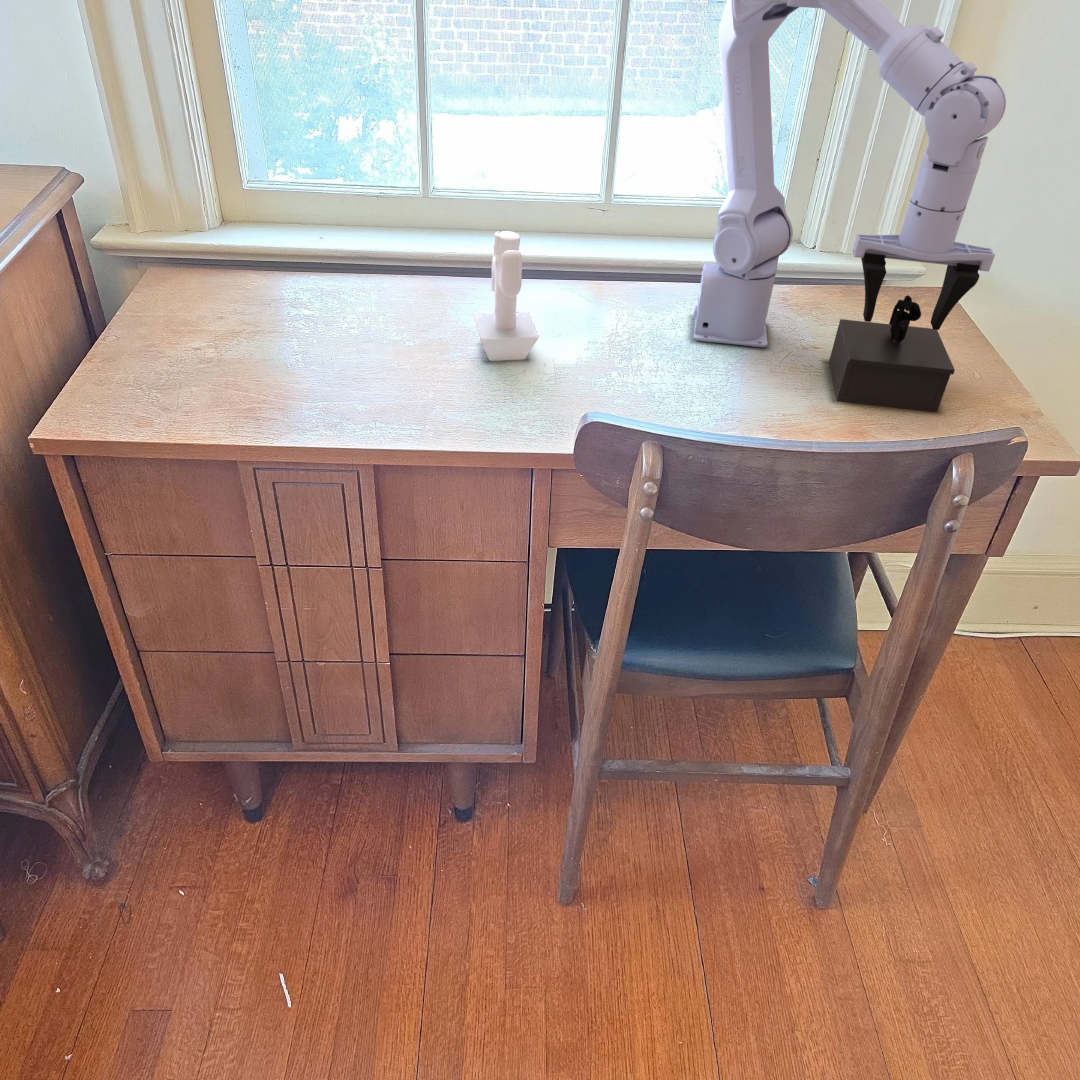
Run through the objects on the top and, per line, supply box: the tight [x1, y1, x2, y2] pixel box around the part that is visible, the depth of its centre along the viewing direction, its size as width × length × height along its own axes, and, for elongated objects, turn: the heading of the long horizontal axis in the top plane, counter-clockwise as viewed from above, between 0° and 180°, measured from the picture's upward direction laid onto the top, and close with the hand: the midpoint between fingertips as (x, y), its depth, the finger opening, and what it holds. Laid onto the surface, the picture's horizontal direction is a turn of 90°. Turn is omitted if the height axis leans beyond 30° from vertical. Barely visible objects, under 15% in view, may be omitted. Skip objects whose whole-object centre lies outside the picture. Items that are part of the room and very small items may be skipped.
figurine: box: [472, 230, 540, 362], centre depth 108 cm, size 7×9×15 cm
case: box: [828, 324, 952, 413], centre depth 108 cm, size 10×12×5 cm
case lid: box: [838, 318, 956, 375], centre depth 106 cm, size 11×12×1 cm
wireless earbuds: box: [888, 294, 922, 342], centre depth 105 cm, size 7×2×5 cm, turn 168°
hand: (900, 322), depth 104 cm, fingers open, 7 cm apart
